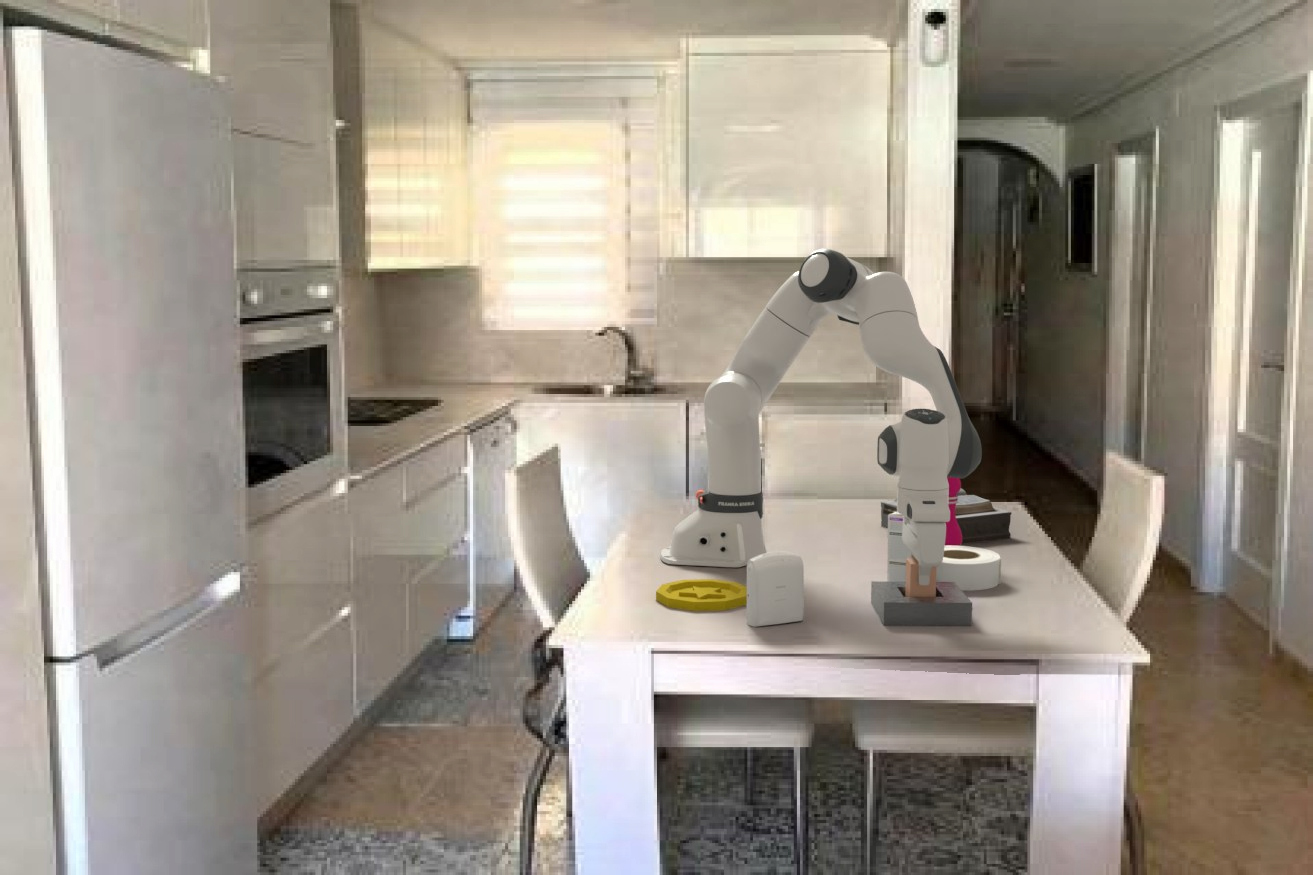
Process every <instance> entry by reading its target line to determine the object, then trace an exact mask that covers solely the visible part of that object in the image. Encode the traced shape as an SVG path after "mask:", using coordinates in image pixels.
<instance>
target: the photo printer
mask: <svg viewBox="0 0 1313 875" xmlns="http://www.w3.org/2000/svg"><path fill="white" fill-rule="evenodd" d="M804 568H805V567H804V561H803V558H802V557H801V555H800V554H799V555H798V554H797V553H795V552H790V551H781V550H780V551H769V552H767V553H764V554H761V555H758V556H756V557H754V558H752V559H750V560H749V561H748V563H747V565H746V587H747V604H746V620H747V621H746V622H747V624H748V626H751V627H753V628H755V627H757V628H758V627H763V626H770V625H771V626H772V625H781V624H787V623H794V622H795V623H796V622H802V621H803V620H804V601H805V600H804V597H805V596H804V592H805V591H804V590H805V589H804V588H805V587H804V586H805V584H804V583H805V582H804V580H805V578H804V577H805V576H804V573H805V572H804V571H805V570H804Z"/></svg>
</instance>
